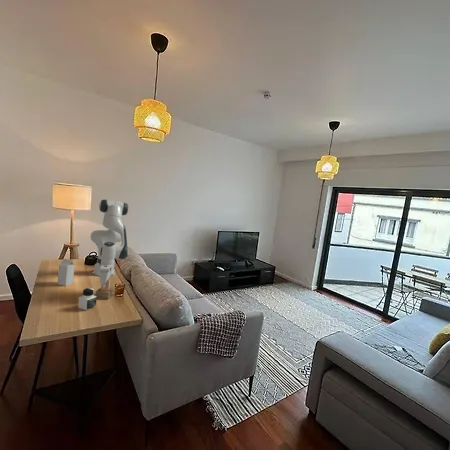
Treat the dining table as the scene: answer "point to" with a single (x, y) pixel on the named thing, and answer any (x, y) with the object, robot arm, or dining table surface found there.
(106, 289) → the pink block
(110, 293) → the tan square block
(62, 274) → the milk carton
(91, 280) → the dining table surface
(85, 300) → the medicine bottle
